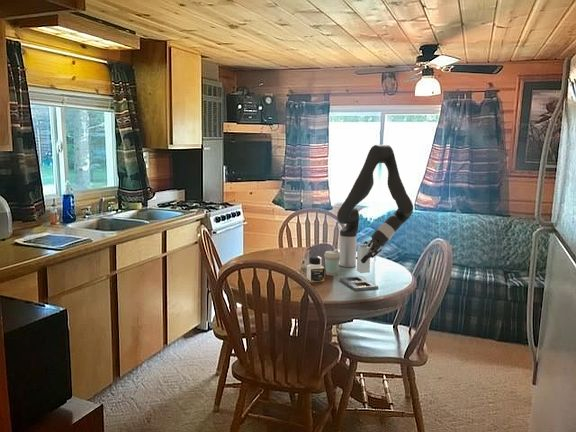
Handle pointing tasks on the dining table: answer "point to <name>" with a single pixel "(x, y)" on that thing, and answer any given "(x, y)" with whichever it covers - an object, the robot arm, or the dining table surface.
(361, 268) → the plug
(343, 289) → the dining table surface
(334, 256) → the coffee cup
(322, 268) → the medicine bottle
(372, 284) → the panel
